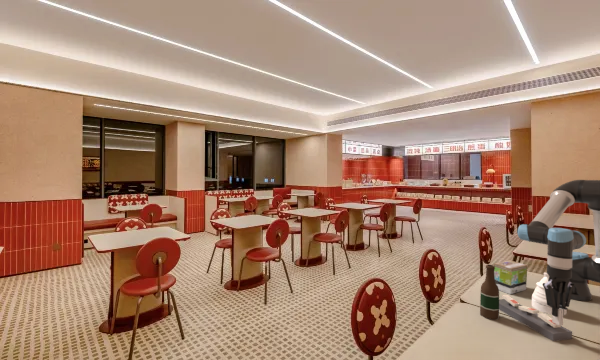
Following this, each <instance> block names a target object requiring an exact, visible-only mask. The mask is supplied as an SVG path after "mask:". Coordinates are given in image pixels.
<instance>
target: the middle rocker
mask: <svg viewBox="0 0 600 360" xmlns="http://www.w3.org/2000/svg"><path fill="white" fill-rule="evenodd" d="M518 307H519V309H520V310H523V311H527V312H530V313H533V314H534V313H537V314H540V311H539V310H537V309H535V308H534V307H529V306H526V305H522V306H518Z"/></svg>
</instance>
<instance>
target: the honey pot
mask: <svg viewBox="0 0 600 360" xmlns="http://www.w3.org/2000/svg"><path fill="white" fill-rule="evenodd" d="M548 279H549V275H548V274H547V272H543V277H542V278H541V279H540V281H537V282H536V283H535V285H536V287H535V288H534V291H533V293H532V295H531V307H532V308H533V309H536V310H539V312H541V313H544V314H546V315H551V316H552V307H550V306H548V305H547V300H546V294H545V288H544V287H543V283H547V282H548ZM566 308H567V310H565V309H564V316H567V311H568V307H566Z"/></svg>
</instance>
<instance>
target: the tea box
mask: <svg viewBox="0 0 600 360" xmlns="http://www.w3.org/2000/svg"><path fill="white" fill-rule="evenodd" d="M493 266H495V269H494V276H495V283H496V285H497V286H498V289H499V292H500V291H501V292H503V293H505V294H508V295H513V294H515V293H519V292H523V291H526V290H527V281H528V264H524V263H522V262H517V261H513V260H511V259H507V260H505V261H504V260H503V261H498V262H495V263H493Z"/></svg>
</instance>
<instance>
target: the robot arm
mask: <svg viewBox="0 0 600 360" xmlns="http://www.w3.org/2000/svg"><path fill="white" fill-rule="evenodd" d="M574 203H575V204H576V203H578V204H579V203H580V204H587V208H588V210H590V211H592V218H593V219H592V222H593V234H594V237H593V238H594V247H595V250H594V251H595V254H593V255H592V256H591V257H590V256H589V254H588V253H585V252H581V251H575V250H578V249H579V250H580V249H581V248H582V247H584V246H585V245H586V243H587V238H586V236H585V235H584V233H582V232H581V231H578V230H572V229H569V228H562V227H554V226H555V225H556V223H557V222H558V220H559V219H560V218H561V216H562V215H563V214H564V212H565V211H566V210H567V208H569V207H571V206H572V205H574ZM517 236H518V238H519V239H520V240H522V241H526V242H529V243H536V244H541V245H545V246H547V254H546V255H547V258H546V260H547V261H546V263H547V265H546V273H547V274H548V275H549V279H548V282H547V283H543V287H544V288H545V294H546V300H547V305H548V306H550V307H552V315H551V316H552V317H551V318H552V322H553V323H555V324H557V325H559V326H560V325H561V326H563V325H564V316H565V315H564V309H565V310H567V311H568V308H569V307H570V302H571V300H576V301H582V302H584V301H585V302H588V301H592V292H591V290H590V287H589V284H588V281H590V282H595V283H599V284H600V179H574V180H570V181H567V182H565V183H563V184H560V185H559V186H558V187H556V188H554V190H553V191H552V192H551V193H550V195H549V199H548V201H546V203H545V204H544V206H543V207H542V208H541V210H539V212H538V213H537V214H536V215H535V217H534V218H533V219H532V221H531V222H530V223H529V224H523V223H522V224H520V225H519V226H518V227H517ZM566 307H567V308H566Z"/></svg>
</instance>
